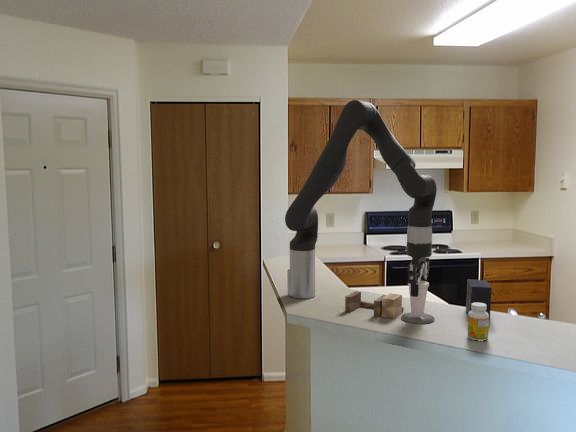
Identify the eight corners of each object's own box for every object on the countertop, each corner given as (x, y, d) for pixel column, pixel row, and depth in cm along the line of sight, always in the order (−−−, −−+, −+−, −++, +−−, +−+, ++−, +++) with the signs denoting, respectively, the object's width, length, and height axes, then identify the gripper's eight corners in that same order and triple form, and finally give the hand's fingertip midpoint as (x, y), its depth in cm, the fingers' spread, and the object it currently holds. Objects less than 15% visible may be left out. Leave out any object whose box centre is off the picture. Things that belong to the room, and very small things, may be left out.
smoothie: (416, 316, 163) (417, 271, 162) (402, 311, 169) (403, 267, 167) (432, 314, 166) (434, 269, 165) (418, 308, 172) (419, 265, 170)
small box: (491, 320, 166) (492, 287, 165) (469, 319, 167) (470, 286, 166) (486, 311, 176) (487, 279, 175) (465, 309, 177) (466, 278, 176)
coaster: (396, 320, 166) (396, 318, 166) (407, 312, 174) (407, 310, 174) (428, 325, 161) (428, 323, 161) (438, 317, 169) (438, 315, 169)
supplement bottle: (464, 335, 152) (465, 301, 151) (482, 334, 152) (483, 301, 151) (472, 342, 147) (473, 307, 146) (491, 341, 147) (492, 306, 146)
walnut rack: (345, 311, 176) (345, 293, 176) (356, 304, 184) (357, 287, 183) (393, 319, 168) (393, 300, 167) (403, 311, 175) (403, 293, 175)
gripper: (415, 236, 173) (413, 287, 175) (399, 242, 161) (398, 297, 163) (438, 238, 169) (436, 290, 171) (424, 244, 157) (422, 300, 159)
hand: (417, 293), depth 167 cm, fingers closed on smoothie, 6 cm apart
